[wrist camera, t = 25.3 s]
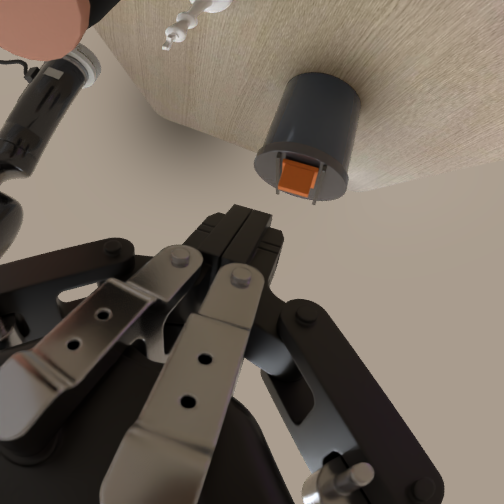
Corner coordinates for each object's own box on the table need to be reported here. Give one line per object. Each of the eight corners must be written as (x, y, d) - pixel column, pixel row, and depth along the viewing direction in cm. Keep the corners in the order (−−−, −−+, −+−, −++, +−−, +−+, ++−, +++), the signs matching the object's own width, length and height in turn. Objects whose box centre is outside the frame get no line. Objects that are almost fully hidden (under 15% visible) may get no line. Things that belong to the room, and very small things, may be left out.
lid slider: (282, 176, 33) (274, 200, 33) (283, 157, 29) (274, 185, 29) (314, 185, 33) (307, 210, 32) (319, 168, 29) (311, 195, 28)
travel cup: (282, 114, 41) (254, 190, 39) (283, 62, 31) (247, 146, 29) (354, 133, 40) (335, 214, 38) (371, 85, 30) (355, 176, 27)
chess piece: (239, -15, 21) (196, 39, 19) (225, 16, 26) (185, 73, 24) (195, -30, 20) (141, 21, 18) (185, 1, 24) (138, 56, 23)
